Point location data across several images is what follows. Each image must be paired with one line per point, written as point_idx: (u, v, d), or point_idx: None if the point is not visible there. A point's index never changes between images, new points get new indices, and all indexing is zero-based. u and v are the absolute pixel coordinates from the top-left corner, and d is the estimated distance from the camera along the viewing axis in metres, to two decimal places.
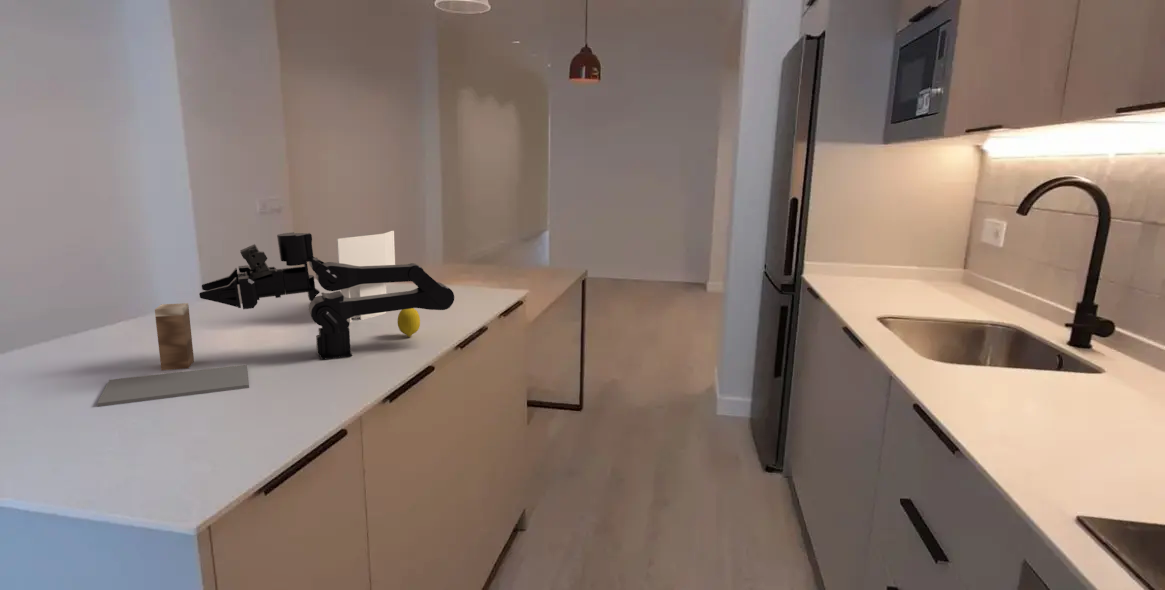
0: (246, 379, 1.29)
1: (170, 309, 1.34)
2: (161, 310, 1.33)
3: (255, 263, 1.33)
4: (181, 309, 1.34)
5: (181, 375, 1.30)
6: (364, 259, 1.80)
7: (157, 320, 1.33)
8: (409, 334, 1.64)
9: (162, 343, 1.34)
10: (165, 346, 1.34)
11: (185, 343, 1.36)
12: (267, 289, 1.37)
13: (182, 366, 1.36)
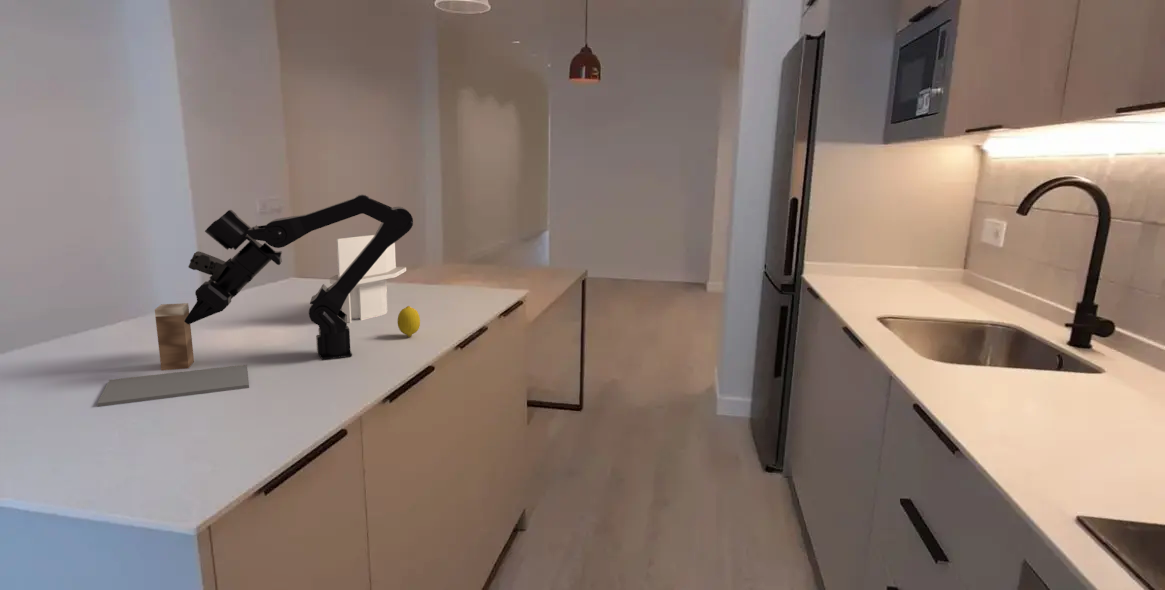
0: (246, 379, 1.29)
1: (170, 309, 1.34)
2: (161, 310, 1.33)
3: (203, 267, 1.32)
4: (181, 309, 1.34)
5: (181, 375, 1.30)
6: None
7: (157, 320, 1.33)
8: (409, 334, 1.64)
9: (162, 343, 1.34)
10: (165, 346, 1.34)
11: (185, 343, 1.36)
12: (235, 280, 1.36)
13: (182, 366, 1.36)
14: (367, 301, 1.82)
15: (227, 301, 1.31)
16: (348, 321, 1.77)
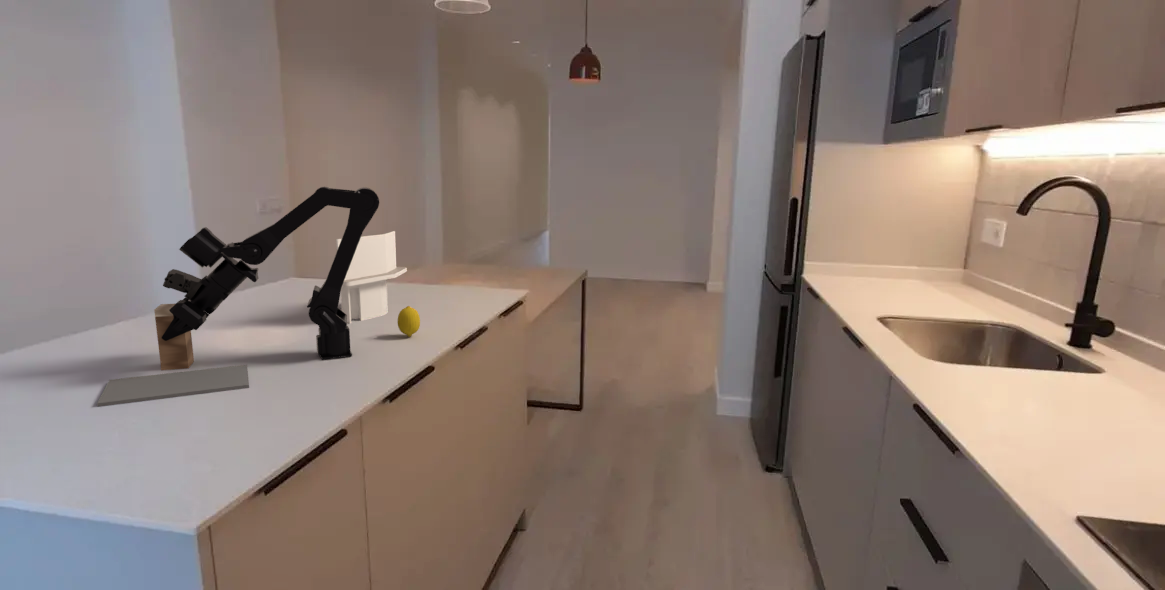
0: (246, 379, 1.29)
1: None
2: (161, 310, 1.33)
3: (178, 285, 1.32)
4: None
5: (181, 375, 1.30)
6: (364, 260, 1.79)
7: (157, 320, 1.33)
8: (409, 334, 1.64)
9: (162, 343, 1.34)
10: (165, 346, 1.34)
11: (185, 343, 1.36)
12: (210, 298, 1.35)
13: (182, 366, 1.36)
14: (367, 301, 1.81)
15: (201, 320, 1.30)
16: (348, 321, 1.77)
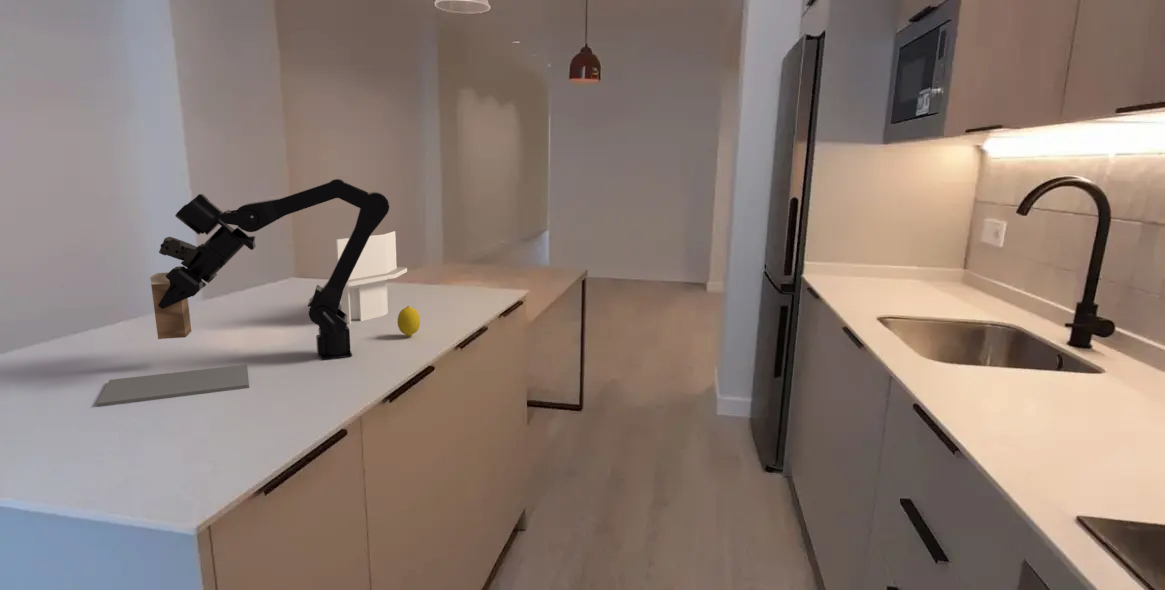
0: (246, 379, 1.29)
1: None
2: (157, 278, 1.31)
3: (174, 252, 1.30)
4: None
5: (181, 375, 1.30)
6: (364, 260, 1.78)
7: (153, 288, 1.32)
8: (409, 334, 1.64)
9: (158, 311, 1.33)
10: (161, 315, 1.33)
11: (182, 312, 1.34)
12: (207, 265, 1.34)
13: (179, 335, 1.35)
14: (367, 302, 1.81)
15: (198, 286, 1.29)
16: (348, 322, 1.77)
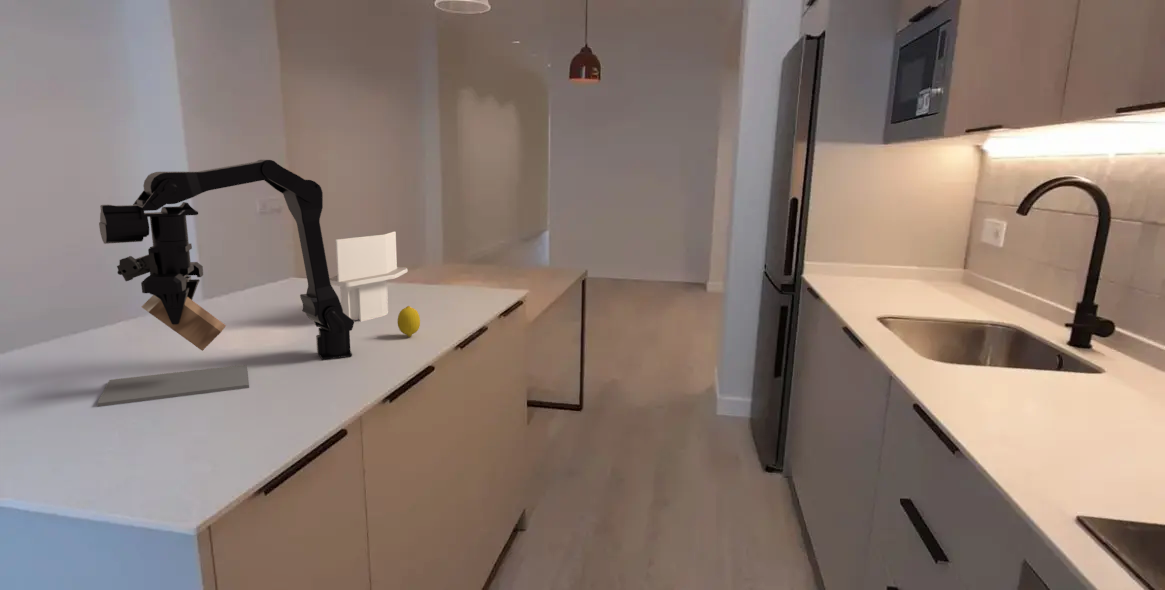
0: (246, 379, 1.29)
1: (153, 296, 1.20)
2: (147, 303, 1.20)
3: (133, 269, 1.17)
4: None
5: (181, 375, 1.30)
6: (364, 260, 1.78)
7: (153, 314, 1.21)
8: (409, 334, 1.64)
9: (178, 328, 1.23)
10: (184, 330, 1.23)
11: (196, 314, 1.23)
12: (172, 259, 1.20)
13: (214, 334, 1.25)
14: (367, 302, 1.80)
15: (177, 279, 1.15)
16: None
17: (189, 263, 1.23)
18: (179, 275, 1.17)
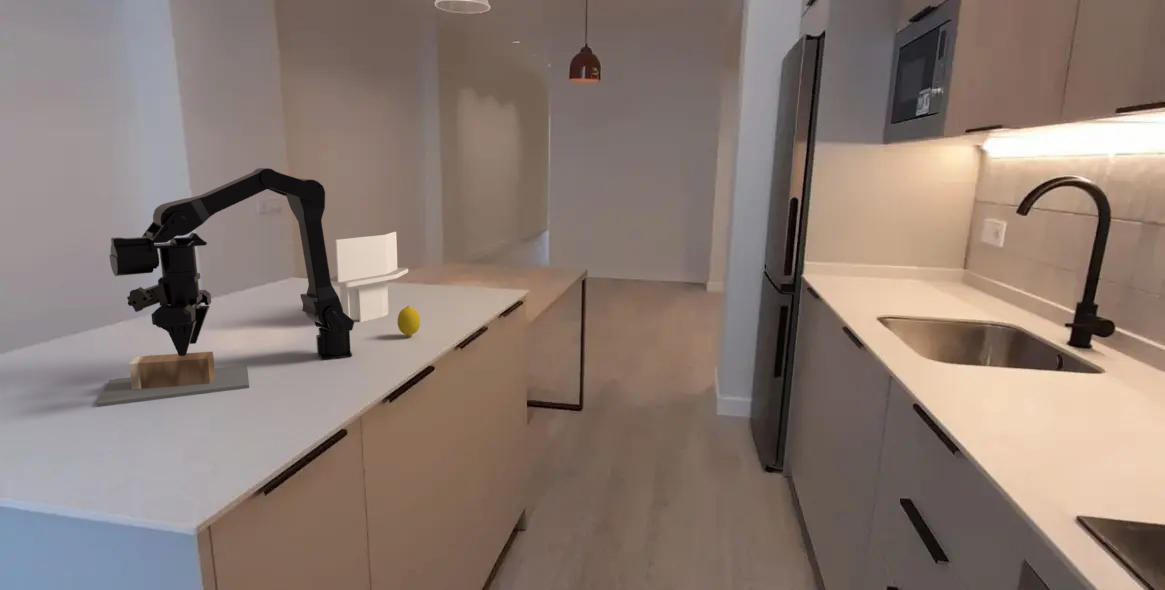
0: (246, 379, 1.29)
1: (131, 375, 1.22)
2: (133, 383, 1.22)
3: (143, 300, 1.18)
4: (130, 365, 1.21)
5: None
6: (364, 260, 1.77)
7: (146, 386, 1.23)
8: (409, 334, 1.64)
9: (175, 382, 1.24)
10: (180, 379, 1.24)
11: (175, 361, 1.24)
12: (182, 289, 1.21)
13: (205, 364, 1.25)
14: (367, 303, 1.80)
15: (186, 310, 1.17)
16: None
17: (198, 293, 1.25)
18: (188, 306, 1.19)
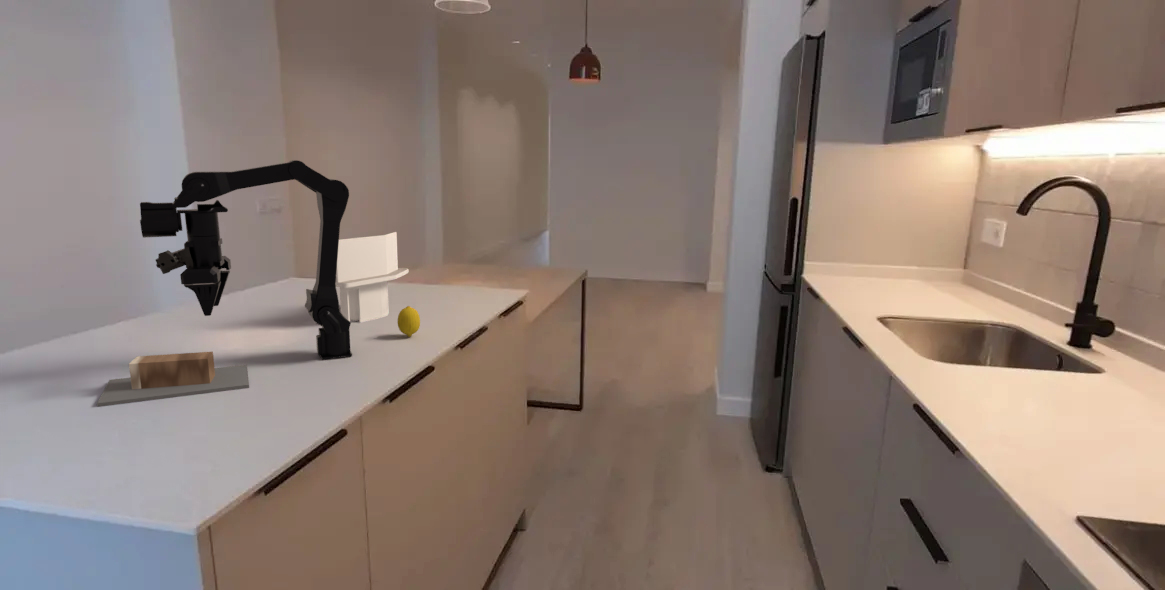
0: (246, 379, 1.29)
1: (131, 375, 1.22)
2: (133, 383, 1.22)
3: (171, 262, 1.26)
4: (130, 365, 1.21)
5: None
6: (364, 261, 1.77)
7: (146, 386, 1.23)
8: (409, 334, 1.64)
9: (175, 382, 1.24)
10: (180, 379, 1.24)
11: (175, 361, 1.24)
12: (206, 252, 1.29)
13: (205, 364, 1.25)
14: (367, 303, 1.79)
15: (213, 271, 1.25)
16: None
17: (221, 256, 1.32)
18: (214, 267, 1.27)
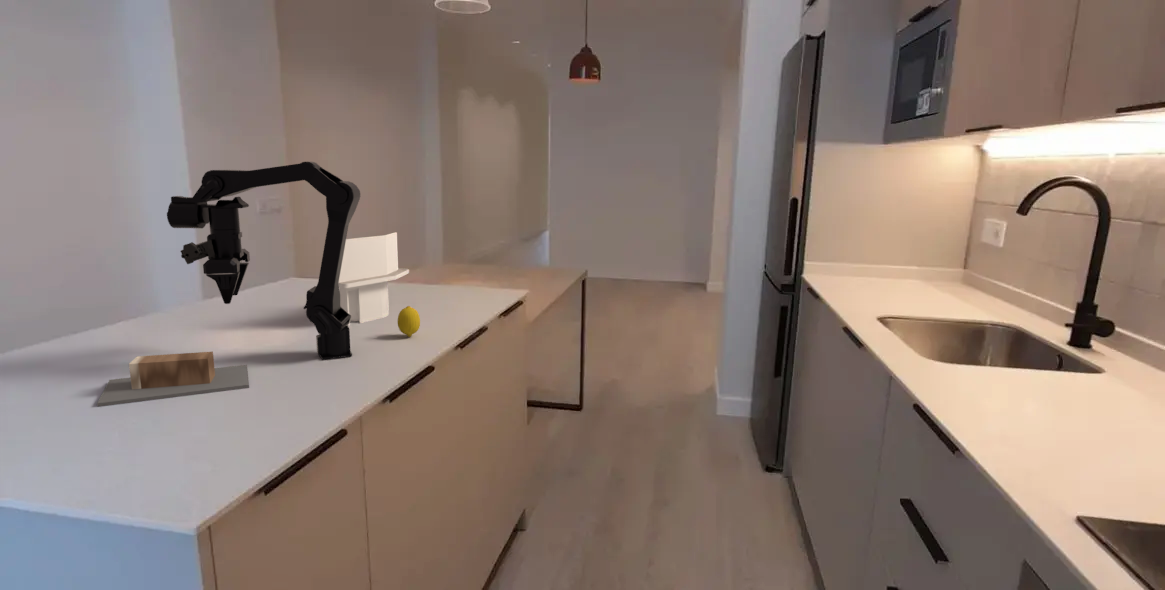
0: (246, 379, 1.29)
1: (131, 375, 1.22)
2: (133, 383, 1.22)
3: (194, 253, 1.36)
4: (130, 365, 1.21)
5: None
6: (363, 261, 1.76)
7: (146, 386, 1.23)
8: (409, 334, 1.64)
9: (175, 382, 1.24)
10: (180, 379, 1.24)
11: (175, 361, 1.24)
12: (227, 245, 1.39)
13: (205, 364, 1.25)
14: (367, 304, 1.79)
15: (233, 262, 1.34)
16: None
17: (240, 249, 1.42)
18: (234, 259, 1.36)
